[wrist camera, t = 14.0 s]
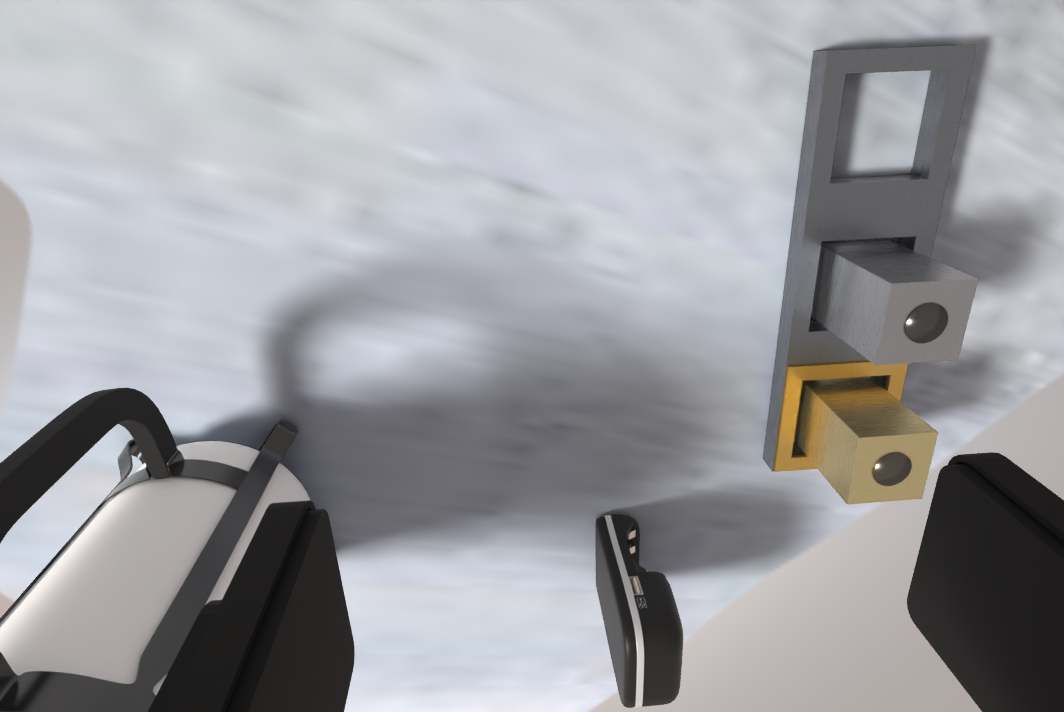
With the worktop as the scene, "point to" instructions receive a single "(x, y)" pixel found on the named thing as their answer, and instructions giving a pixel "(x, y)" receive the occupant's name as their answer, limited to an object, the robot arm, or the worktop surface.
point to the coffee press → (128, 554)
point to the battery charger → (637, 617)
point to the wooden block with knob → (864, 440)
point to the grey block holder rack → (856, 221)
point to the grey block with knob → (892, 302)
